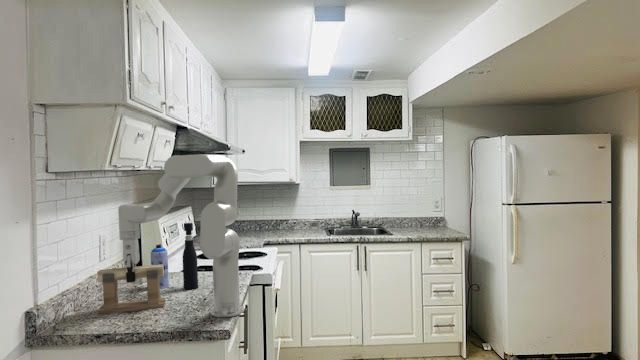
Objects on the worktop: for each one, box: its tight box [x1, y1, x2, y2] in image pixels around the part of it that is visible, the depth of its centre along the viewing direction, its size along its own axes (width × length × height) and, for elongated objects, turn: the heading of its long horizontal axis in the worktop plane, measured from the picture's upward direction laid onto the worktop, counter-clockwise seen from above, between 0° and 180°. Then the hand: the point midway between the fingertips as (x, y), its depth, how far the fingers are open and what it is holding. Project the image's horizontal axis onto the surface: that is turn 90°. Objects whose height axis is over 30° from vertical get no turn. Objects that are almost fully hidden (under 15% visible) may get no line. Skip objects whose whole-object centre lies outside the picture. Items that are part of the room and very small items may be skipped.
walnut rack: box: [97, 270, 166, 315], centre depth 180 cm, size 8×24×15 cm, turn 105°
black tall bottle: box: [182, 222, 199, 291], centre depth 207 cm, size 6×6×30 cm
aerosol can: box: [150, 243, 170, 290], centre depth 211 cm, size 8×8×20 cm
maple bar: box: [97, 264, 164, 283], centre depth 180 cm, size 4×24×4 cm, turn 105°
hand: (131, 280), depth 180 cm, fingers closed on maple bar, 4 cm apart
